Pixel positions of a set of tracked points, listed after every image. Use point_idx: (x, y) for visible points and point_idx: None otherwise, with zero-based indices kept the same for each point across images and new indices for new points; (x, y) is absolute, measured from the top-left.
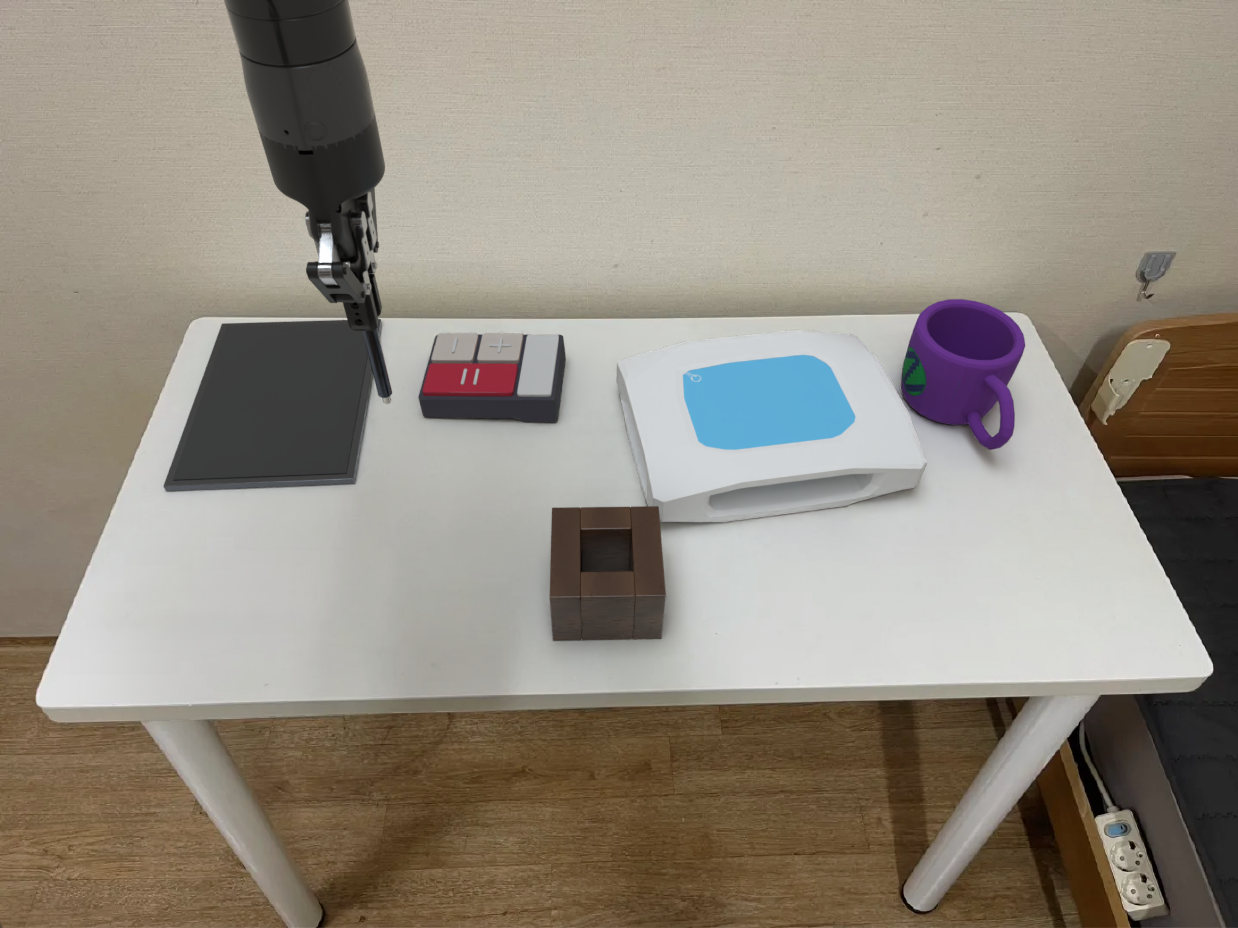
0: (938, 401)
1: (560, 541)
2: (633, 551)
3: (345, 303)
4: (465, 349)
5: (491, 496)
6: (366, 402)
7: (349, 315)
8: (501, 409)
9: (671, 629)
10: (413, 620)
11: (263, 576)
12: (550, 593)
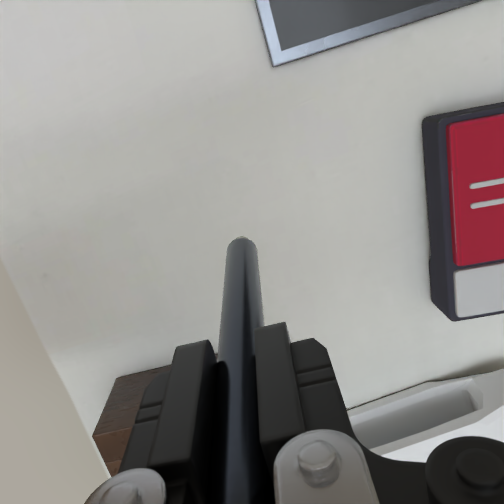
0: None
1: None
2: None
3: (118, 473)
4: None
5: (291, 260)
6: (440, 13)
7: (137, 425)
8: (436, 242)
9: None
10: (88, 234)
11: (79, 8)
12: (97, 435)
